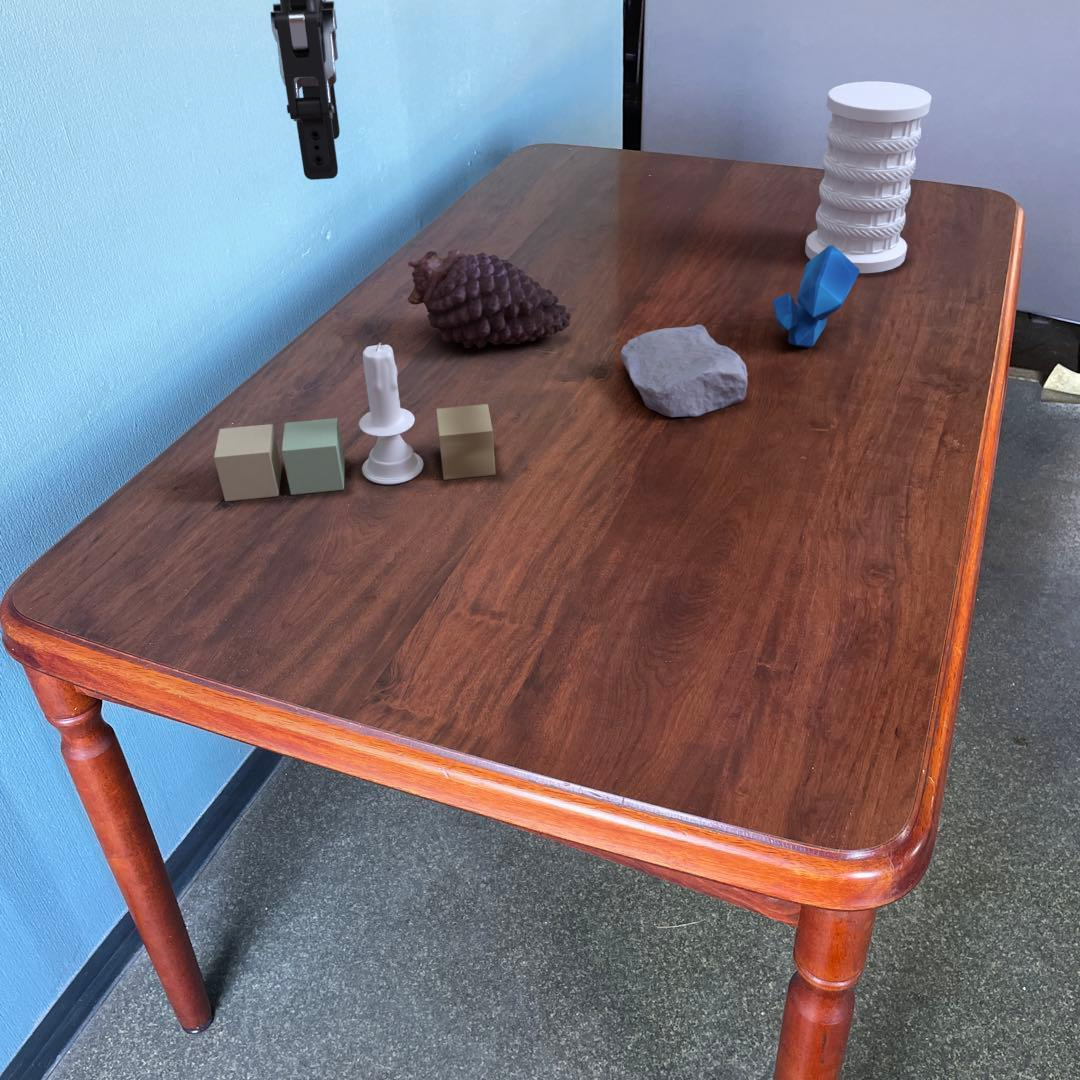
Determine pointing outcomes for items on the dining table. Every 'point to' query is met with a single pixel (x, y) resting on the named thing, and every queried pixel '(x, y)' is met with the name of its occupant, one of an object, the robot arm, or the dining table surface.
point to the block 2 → (313, 456)
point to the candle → (386, 421)
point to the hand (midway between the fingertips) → (323, 157)
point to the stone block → (684, 371)
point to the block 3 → (466, 441)
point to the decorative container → (868, 172)
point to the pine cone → (484, 300)
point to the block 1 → (248, 462)
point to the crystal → (816, 296)
